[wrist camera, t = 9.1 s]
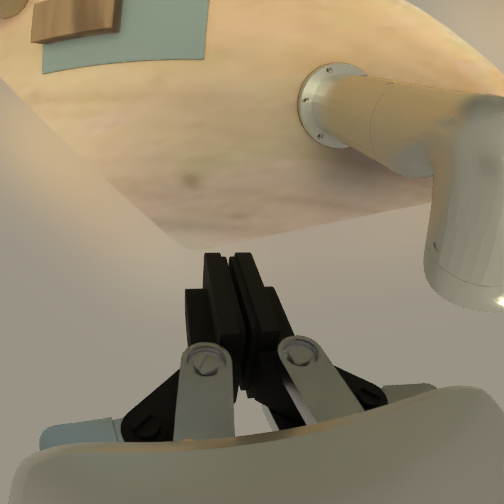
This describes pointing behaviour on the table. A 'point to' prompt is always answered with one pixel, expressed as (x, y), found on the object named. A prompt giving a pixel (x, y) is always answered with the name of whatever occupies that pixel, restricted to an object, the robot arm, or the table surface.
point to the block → (74, 19)
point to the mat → (137, 36)
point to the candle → (11, 7)
